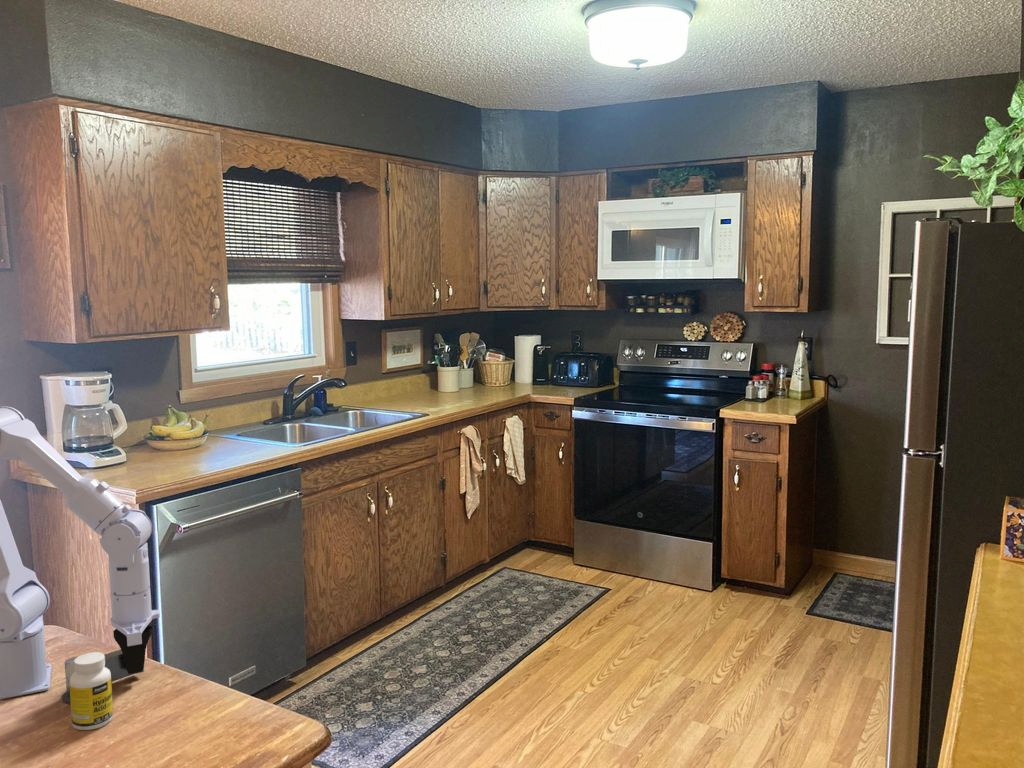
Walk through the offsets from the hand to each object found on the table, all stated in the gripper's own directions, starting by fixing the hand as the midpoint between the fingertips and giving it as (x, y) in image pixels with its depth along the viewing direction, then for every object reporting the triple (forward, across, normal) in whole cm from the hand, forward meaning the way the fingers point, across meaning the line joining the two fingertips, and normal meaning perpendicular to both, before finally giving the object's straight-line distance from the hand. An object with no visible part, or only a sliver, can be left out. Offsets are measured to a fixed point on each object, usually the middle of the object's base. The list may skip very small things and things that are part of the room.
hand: (135, 671), depth 134 cm
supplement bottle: (+2, -10, +6) cm, 12 cm away
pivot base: (+2, -1, +8) cm, 8 cm away
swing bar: (+1, 0, +4) cm, 4 cm away
